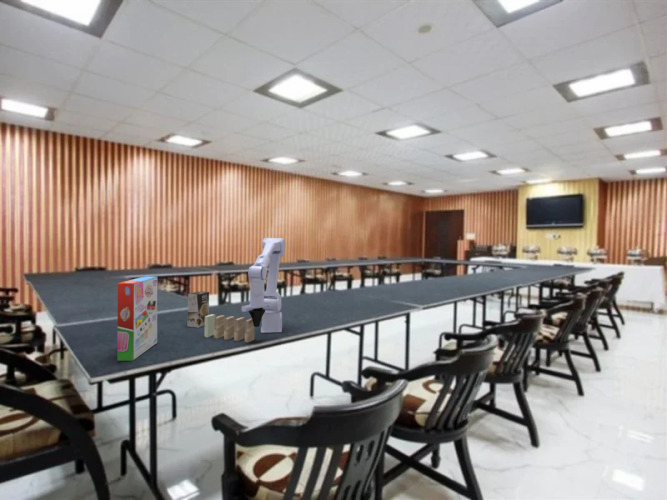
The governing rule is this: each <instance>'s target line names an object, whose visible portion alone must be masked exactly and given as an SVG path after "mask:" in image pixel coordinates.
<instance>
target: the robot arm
mask: <svg viewBox="0 0 667 500" xmlns="http://www.w3.org/2000/svg"><path fill="white" fill-rule="evenodd" d="M261 245H262V246H261V247H262V253H261V254H259V255H258V256H257V258H256V260H255V262H254V264H253V265H251V266H249V268H248V273H247V275H248V283H249V284H250V285H249V288H250V289H249V291H250V293H249V303H248V304H246V305H244V306H243V305H242V306H241V309H240V310H241V312H243V313H246V312H248V313H249V315H250V317H251V318H252V321H253V325H254V326H255V327H254V328H260V333H261V334H262V333H263V334H264V333H265V334H266V333H270V334H271V333H282V332H283V331H282V330H283V312H282V311H281V309H282V304H283V303H282V295H281V294H280V293H279V292H278V291H277V289H278V279H279V273H280V272H279V271H280V263H281V262H280V261H281V258H283V257H284V256H285V251H286V240H285V239H284V237H281V238H280V237H277V238H275V237H264V238H263V239H262V243H261ZM267 273H268V274H267ZM266 278H267V282H266V288H265V280H266ZM251 318H250V319H251ZM260 325H261V327H260Z"/></svg>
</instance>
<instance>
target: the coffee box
mask: <svg viewBox="0 0 667 500" xmlns="http://www.w3.org/2000/svg"><path fill="white" fill-rule="evenodd" d="M209 311H210V291H194V292H191V293H188V294H187V324H186V325H187V327H189V328H190V327H191V328H197V329H198V328H200V327H201V328H202V327H205V316H208V315H210V312H209Z"/></svg>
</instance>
